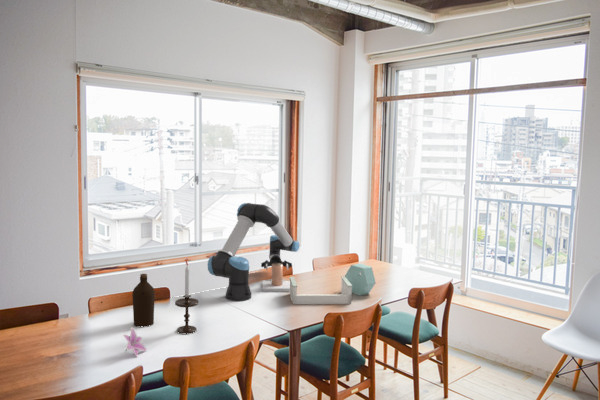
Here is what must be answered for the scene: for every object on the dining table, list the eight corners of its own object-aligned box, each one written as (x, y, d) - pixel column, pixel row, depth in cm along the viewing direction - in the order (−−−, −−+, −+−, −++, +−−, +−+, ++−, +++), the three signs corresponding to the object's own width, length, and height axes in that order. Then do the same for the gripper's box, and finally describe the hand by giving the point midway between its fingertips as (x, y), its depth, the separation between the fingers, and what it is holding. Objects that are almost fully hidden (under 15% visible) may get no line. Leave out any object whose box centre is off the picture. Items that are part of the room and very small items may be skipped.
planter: (365, 299, 310) (380, 276, 299) (356, 301, 305) (371, 278, 294) (349, 280, 320) (363, 257, 309) (341, 281, 315) (355, 258, 304)
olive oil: (158, 324, 243) (158, 275, 241) (138, 329, 236) (138, 278, 234) (148, 318, 251) (148, 270, 248) (128, 323, 244) (128, 273, 241)
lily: (121, 364, 201) (133, 344, 200) (108, 345, 208) (120, 326, 207) (144, 363, 211) (155, 344, 210) (132, 345, 218) (142, 327, 217)
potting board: (263, 291, 304) (263, 288, 304) (262, 283, 322) (262, 280, 322) (292, 291, 306) (292, 288, 306) (289, 283, 324) (289, 280, 324)
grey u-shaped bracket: (292, 304, 281) (292, 285, 280) (289, 293, 301) (289, 276, 300) (351, 303, 285) (352, 285, 284) (344, 293, 305) (345, 276, 304)
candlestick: (177, 336, 229) (177, 262, 226) (173, 328, 239) (173, 257, 235) (200, 333, 234) (201, 260, 230) (195, 325, 243) (196, 256, 240)
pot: (271, 286, 310) (272, 265, 308) (271, 282, 317) (271, 262, 315) (282, 285, 311) (283, 265, 309) (281, 282, 318) (282, 262, 316)
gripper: (293, 265, 341) (296, 273, 320) (257, 265, 338) (257, 273, 317) (293, 255, 340) (296, 262, 319) (257, 255, 338) (258, 262, 317)
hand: (277, 268), depth 318 cm, fingers open, 13 cm apart
